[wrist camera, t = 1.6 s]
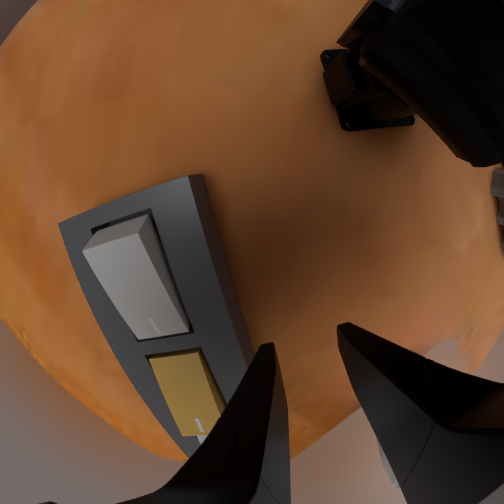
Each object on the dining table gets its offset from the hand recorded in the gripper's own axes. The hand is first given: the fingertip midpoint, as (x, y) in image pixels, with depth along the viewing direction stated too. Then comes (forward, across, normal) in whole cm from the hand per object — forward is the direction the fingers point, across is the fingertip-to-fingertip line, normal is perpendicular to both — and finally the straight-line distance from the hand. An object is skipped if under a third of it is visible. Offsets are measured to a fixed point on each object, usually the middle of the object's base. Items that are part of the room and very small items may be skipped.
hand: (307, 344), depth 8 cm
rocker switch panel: (+12, +8, +8) cm, 16 cm away
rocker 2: (+8, +8, +8) cm, 14 cm away
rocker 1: (+8, +8, -1) cm, 11 cm away
